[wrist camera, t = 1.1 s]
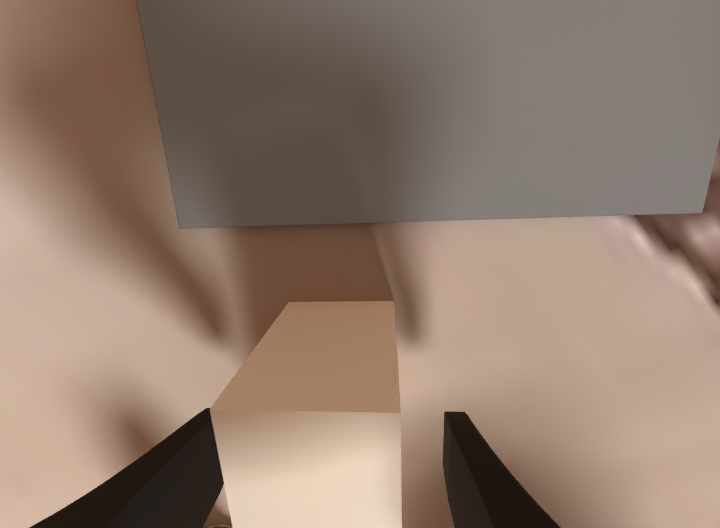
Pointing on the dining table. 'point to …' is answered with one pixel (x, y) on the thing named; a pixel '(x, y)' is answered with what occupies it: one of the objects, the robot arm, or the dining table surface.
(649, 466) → the dining table surface
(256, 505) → the cream block
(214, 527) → the red patterned tin
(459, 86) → the slate mat
